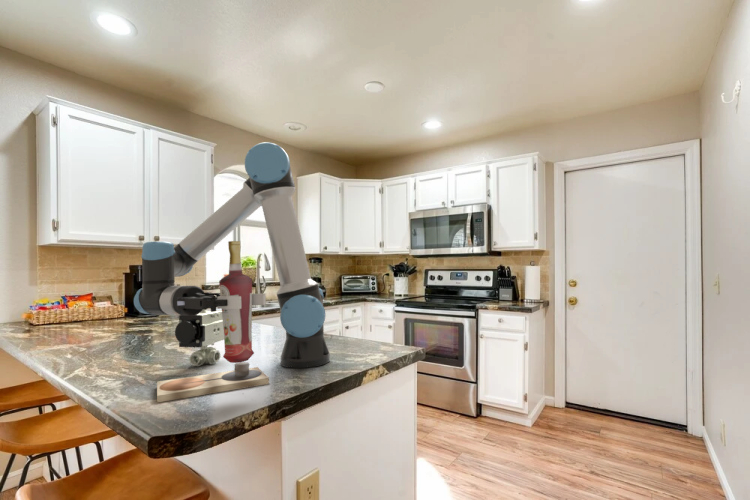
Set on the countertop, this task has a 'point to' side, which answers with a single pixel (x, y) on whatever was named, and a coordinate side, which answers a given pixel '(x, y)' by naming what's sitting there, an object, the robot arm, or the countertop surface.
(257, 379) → the board
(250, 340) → the liquor
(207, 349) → the ball valve
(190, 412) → the countertop surface
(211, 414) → the countertop surface
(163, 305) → the robot arm
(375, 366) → the countertop surface
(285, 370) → the countertop surface
